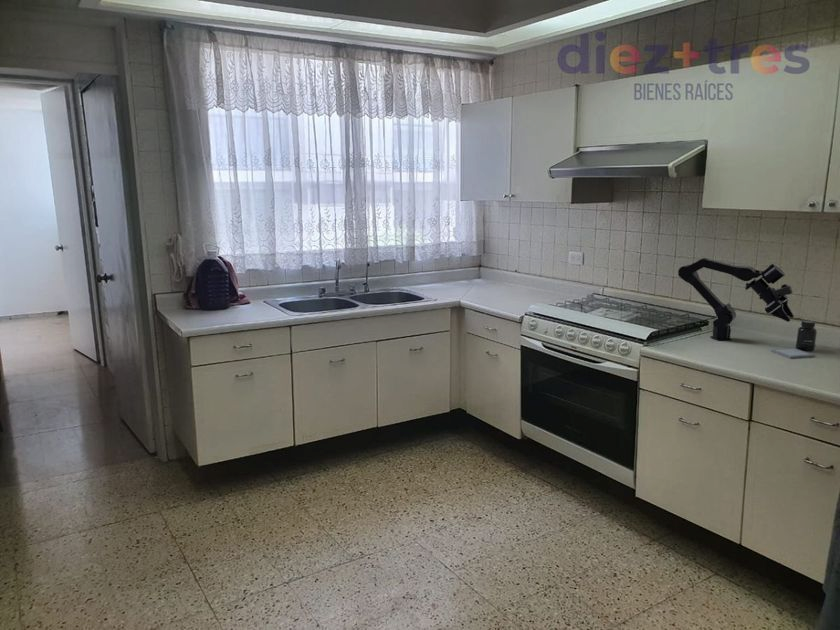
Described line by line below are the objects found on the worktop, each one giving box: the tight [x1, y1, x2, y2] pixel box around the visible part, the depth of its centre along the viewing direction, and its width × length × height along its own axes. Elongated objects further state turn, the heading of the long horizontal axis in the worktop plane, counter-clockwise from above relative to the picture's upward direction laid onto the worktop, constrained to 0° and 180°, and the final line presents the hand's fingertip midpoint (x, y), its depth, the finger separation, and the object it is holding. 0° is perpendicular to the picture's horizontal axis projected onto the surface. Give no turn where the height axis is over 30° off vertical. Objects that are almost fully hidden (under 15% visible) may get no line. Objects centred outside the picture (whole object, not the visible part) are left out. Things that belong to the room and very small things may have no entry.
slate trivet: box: [770, 347, 816, 360], centre depth 253 cm, size 11×11×1 cm
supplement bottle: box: [795, 320, 818, 352], centre depth 259 cm, size 7×7×12 cm
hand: (791, 319), depth 261 cm, fingers open, 9 cm apart
